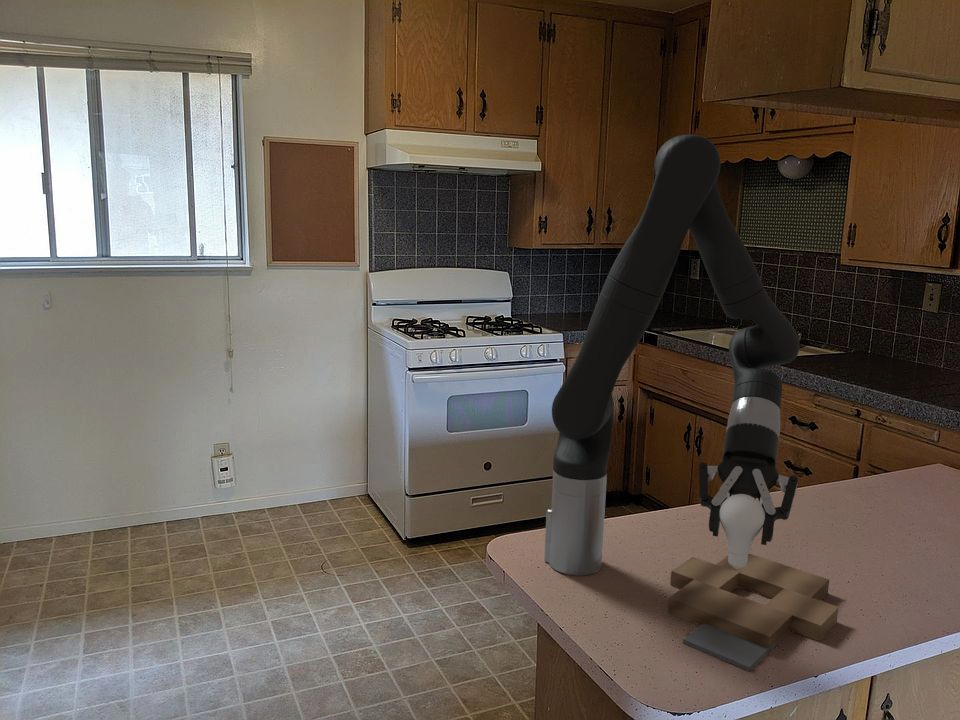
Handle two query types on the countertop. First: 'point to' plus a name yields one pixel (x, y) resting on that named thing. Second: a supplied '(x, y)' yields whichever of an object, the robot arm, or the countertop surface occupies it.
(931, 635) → the countertop surface
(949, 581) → the countertop surface
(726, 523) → the lightbulb
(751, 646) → the slate mat
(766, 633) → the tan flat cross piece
